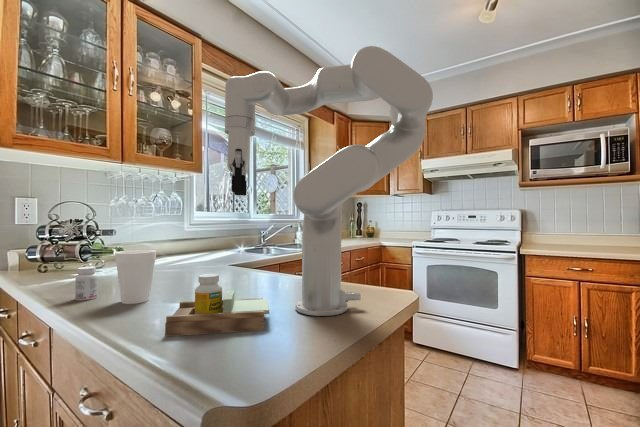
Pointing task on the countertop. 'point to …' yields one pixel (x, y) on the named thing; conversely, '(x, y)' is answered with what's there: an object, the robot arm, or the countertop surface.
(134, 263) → the foam cup
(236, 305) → the cover
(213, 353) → the countertop surface
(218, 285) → the supplement bottle
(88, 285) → the pill bottle
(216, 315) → the wooden tray
